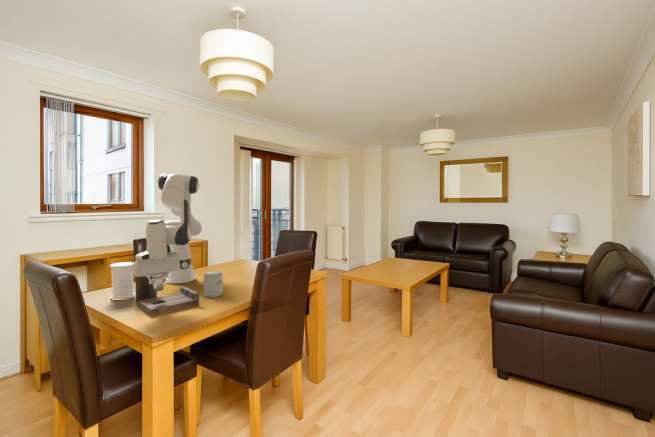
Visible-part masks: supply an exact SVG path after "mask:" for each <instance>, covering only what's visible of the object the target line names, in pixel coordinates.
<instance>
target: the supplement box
mask: <svg viewBox="0 0 655 437" xmlns="http://www.w3.org/2000/svg"><path fill="white" fill-rule="evenodd" d="M223 284H224V283H223V271H219V270H218V271H217V270H211V271H208V272H205V273H204V274H203V297H205V298H218V297H219V296H221V295H223V294H224V293H223V290H224V289H223Z"/></svg>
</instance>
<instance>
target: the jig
mask: <svg viewBox="0 0 655 437" xmlns="http://www.w3.org/2000/svg"><path fill="white" fill-rule="evenodd" d="M199 305H200V292H197V291H195V290H192V289H191V288H188V287H187V286H180V292H177V293H172V294H167V295H162V296H157V297H156V298H151V299H146V300H141V301H139V303H138V308H139V309H141V310H142V311H143V310H144V312H145V313H146V314H147V313H148V314H147V315H149V316H150V317H154V316H158V315H163V314H166V313H171V312H175V311H176V312H177V311H179V310H184V309H188V308H193V307H197V306H199Z"/></svg>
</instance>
